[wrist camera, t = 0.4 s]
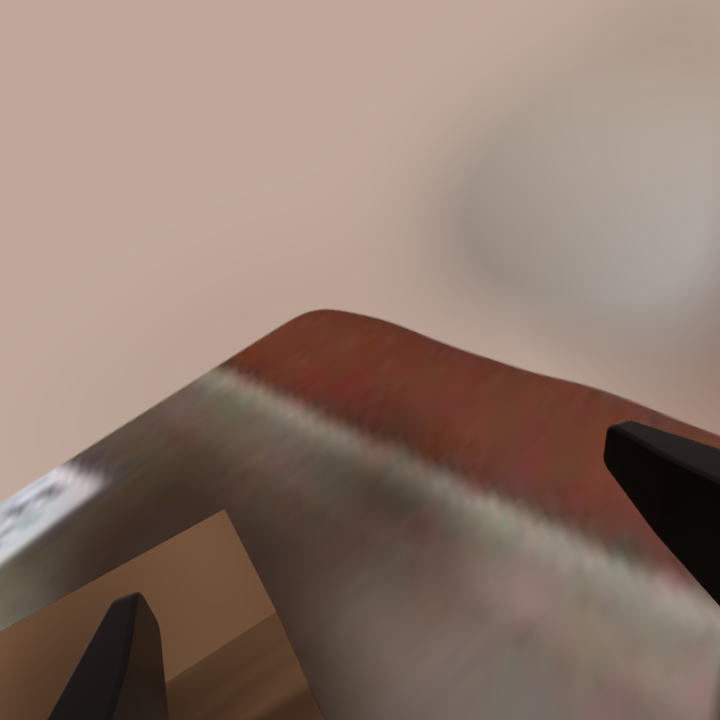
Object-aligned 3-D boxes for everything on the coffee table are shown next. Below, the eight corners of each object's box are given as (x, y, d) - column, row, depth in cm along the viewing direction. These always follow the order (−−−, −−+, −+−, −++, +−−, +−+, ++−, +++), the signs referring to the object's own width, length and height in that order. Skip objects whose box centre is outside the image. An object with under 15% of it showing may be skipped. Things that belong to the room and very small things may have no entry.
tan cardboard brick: (300, 673, 22) (224, 508, 13) (336, 746, 20) (276, 611, 11) (161, 771, 20) (-41, 653, 11) (186, 863, 18) (-32, 809, 9)
